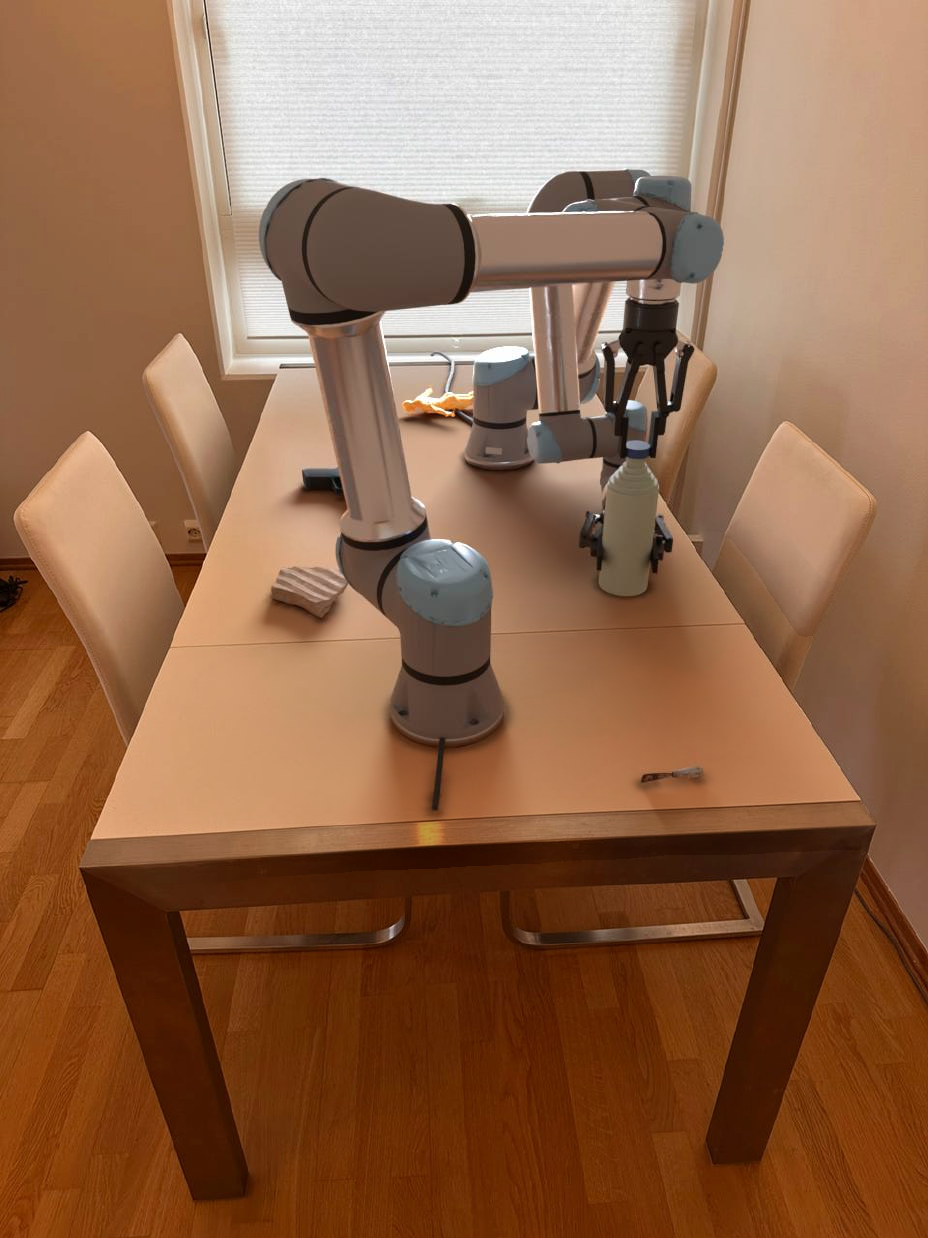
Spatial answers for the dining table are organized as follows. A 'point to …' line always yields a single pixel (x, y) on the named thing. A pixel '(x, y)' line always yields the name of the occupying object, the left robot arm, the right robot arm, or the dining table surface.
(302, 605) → the stone
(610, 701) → the dining table surface
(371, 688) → the dining table surface
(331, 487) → the handgun
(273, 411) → the dining table surface
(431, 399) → the human figure
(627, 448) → the cap
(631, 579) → the bottle
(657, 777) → the putty knife
